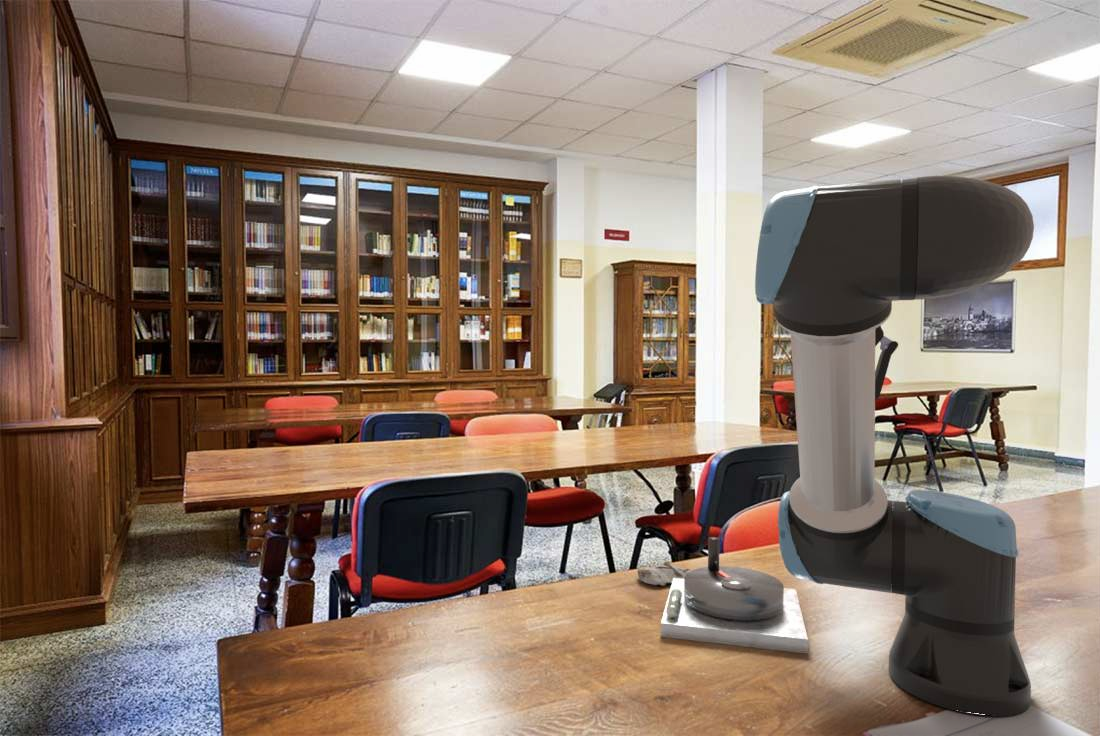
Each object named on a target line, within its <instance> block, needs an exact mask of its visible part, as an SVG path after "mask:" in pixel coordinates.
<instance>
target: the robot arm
mask: <svg viewBox="0 0 1100 736" xmlns="http://www.w3.org/2000/svg"><path fill="white" fill-rule="evenodd" d="M1033 217H1034V216H1033V214H1032V212H1031V209H1030V207H1029V205H1028V204H1027V202H1026V200H1024V199H1023V197H1022V196H1020V195H1019V194H1018V193H1016V192H1015V191H1013V190H1012V189H1010V188H1008V187H1006V186H1003V185H1001V184H999V183H995V182H991V181H988V180H982V179H977V178H976V179H975V178H971V177H964V176H954V175H930V176H929V175H928V176H917V177H913V178H900V179H899V178H898V179H890V180H889V179H887V180H880V181H878V180H877V181H869V182H856V183H845V184H836V185H835V184H834V185H825V186H824V185H823V186H819V185H818V184H817V185H816V184H815V185H812V186H811V187H807V188H799V189H793V190H788V191H787V190H786V191H781V192H779V193H777V194H775V195H774V196H773V197H772V198H770V200H769V201H768V203H767V205H766V206H765V211H764V213H763V217H762V222H761V227H760V232H759V236H758V237H759V238H758V245H757V254H756V263H755V278H754V279H755V280H754V287H755V289H754V291H755V297H756V298H755V299H756V301H757V302H758V303H759V304H760V305H761V304H762V305H765V306H766V307H768V306H771V305H773V313H774V314H773V315H774V319H775V321H776V324H777V325H778V326H779V327H781V328H782V329H783V330H784V331H786V332H788V333H789V334H790V345H791V361H792V362H791V363H792V377H793V392H794V406H795V421H796V433H797V434H796V435H797V437H796V438H797V449H798V450H797V451H798V464H799V465H798V466H799V475H800V476H799V477H798V478H797V479H796V480H795V481H794V482H793V484H792V486H790V487H791V488H790V489H789V491H786V492H784V493H783V494H782V495H781V498H780V501H779V505H778V511H777V513H778V514H777V515H778V516H777V527H778V535H779V537H778V544H779V549H780V554H781V558H782V561H783V564H784V566H785V568H786V570H787V571H788V572H789V574H790V575H792V576H793V577H795V578H797V579H801V580H804V581H809V582H812V583H813V582H814V583H816V584H818V585H832V586H837V587H838V586H839V587H844V588H845V587H846V588H853V589H860V590H868V591H875V592H880V593H881V592H882V593H888V594H895V595H900V596H901V595H902V596H904V597H905V601H904V605H905V606H904V615H903V618H902V620H901V622H900V625H899V628H898V630H897V633H896V635H895V638H894V640H893V642H892V644H891V647H890V650H889V654H888V673H889V676H890V678H891V680H892V681H893V682H894V683H895V684H896V685H897V686H898V687H900V688H901V689H903V690H904V691H906V692H907V693H909V694H910V695H911V696H914V697H916V698H918V699H920V700H922V701H924V702H927V703H929V704H932V705H934V706H937V707H941V708H944V709H948V710H951V711H954V710H958V711H962V712H961V713H963V712H971V713H979V714H985V715H995V716H994V717H1008V716H1014V715H1015V716H1016V715H1019V714H1021V713H1024V712H1025V711H1026V710H1028V709H1029V707H1030V706H1031V701H1032V696H1031V695H1032V689H1031V688H1032V685H1031V680H1030V677H1029V673H1028V671H1027V668H1026V665H1025V662H1024V658H1023V656H1022V652H1021V650H1020V648H1019V645H1018V642H1017V641H1018V640H1017V639H1016V635H1015V634H1016V633H1015V615H1016V614H1015V613H1016V611H1015V609H1016V576H1017V575H1016V571H1017V570H1016V567H1017V564H1016V563H1017V557H1019V550H1018V549H1017V548H1018V547H1017V531H1016V530H1017V529H1016V524H1015V521H1014V520H1013V518H1012V517H1011V516H1010V515H1009V514H1008V513H1007V512H1006V511H1004V510H1003V509H1001V508H1000V507H997V506H995V505H993V504H990V503H987V502H984V501H981V500H979V499H975V498H971V497H966V496H963V495H958V494H953V493H949V492H943V491H936V490H923V489H922V490H921V489H913V490H911V491H909V492H908V493H907V495H906V497H905V501H899V500H898V501H897V500H891V499H888V495H887V493H886V491H885V489H884V487H883V486H882V485H881V483H879V481H877V480H876V479H875V476H876V475H875V473H876V471H875V469H876V468H875V467H876V466H875V463H876V461H875V460H876V458H875V454H876V453H875V452H876V447H875V445H876V440H875V439H876V435H875V434H876V433H875V432H876V430H875V429H876V427H875V426H876V400H878V399H879V398H880V396H881V393H882V389H883V385H884V383H885V382H884V381H885V379H886V374H887V372H888V369H889V366H890V365H889V364H890V360H891V357H892V355H893V353H894V352H895V351H896V350H897V348H898V347H899V342H898V341H895V340H892V339H890V338H889V337H887V336H885V332H884V330H883V328H882V325H883V324H885V322H886V321H888V319H889V317H891V314H892V308H893V307H892V306H893V304H892V303H893V302H896V301H917V300H918V301H919V300H921V301H922V300H931V299H933V300H934V299H937V298H938V299H939V298H945V297H950V296H955V295H959V294H962V293H965V292H968V291H971V290H974V289H976V288H980V287H982V286H986V285H987V284H989V283H991V282H993V281H996V280H997V279H999V278H1001V277H1003V276H1004V275H1006V274H1008V272H1010V271H1011V270H1012V269H1014V268H1015V266H1017V265H1018V264H1019V263H1020V262H1021V261H1022V260H1023V258H1024V257H1025V256H1026V254H1027V252H1028V251H1029V249H1030V246H1031V244H1032V241H1033V237H1034V231H1035V226H1034V225H1035V224H1034V218H1033ZM879 343H880V345H879V348H880V350H881V352H880V354H879V357H878V360H877V364H876V348H877V347H876V346H877V345H878V344H879ZM958 711H957V712H958Z"/></svg>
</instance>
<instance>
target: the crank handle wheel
mask: <svg viewBox="0 0 1100 736" xmlns="http://www.w3.org/2000/svg"><path fill="white" fill-rule="evenodd" d="M707 541H708V543H707V544H708V546H707V566H704V567H700V568H699V567H698V568H695V569H692V570H690V572H688V573H687V574H686V575H685V577H684V599H685V601H686V603H687V604H688V605H689V606H691V607H692V608H694V609H696V610H698V611H700V612H703V613H705V614H708V615H712V616H716V617H720V618H726V619H734V620H759V619H766V618H770V617H773V616H776V615H778V614H779V613H781V612H782V610H783V605H784V588H785V586H784V584H783V583H782V581H780V580H779V578H776V577H775V576H772V575H771V574H768V573H765V572H762V571H759V570H755V569H752V568H751V569H750V568H746V567H738V566H730V565H729V566H727V565H726V566H723V565H720V538H719V537H715V536H709V537H708V539H707Z"/></svg>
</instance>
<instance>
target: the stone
mask: <svg viewBox="0 0 1100 736" xmlns="http://www.w3.org/2000/svg"><path fill="white" fill-rule="evenodd" d="M655 566H656V567H655ZM650 567H651V568H649V567H646V566H645V567H640V568H639V569H637V575H638V580H639V582H642V583H645V584H649V585H653V586H655V587H657V586H658V585H660V586H662V587H665V586H666V585H667V584H672V581H673V578H681V579H684V577H685V575H686V574H687V573H688V572H690V571H691V569H690V568H684V566H678V565H674V564H669V563H668V562H667V561H664V562H663V563H660V564H657V565H653V566H650ZM643 568H645V569H643Z"/></svg>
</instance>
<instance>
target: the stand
mask: <svg viewBox="0 0 1100 736" xmlns="http://www.w3.org/2000/svg"><path fill="white" fill-rule="evenodd" d="M666 599H667V600H666V602H665V607H664V610H663V614H662V618H661V622H660V637H661V638H668V639H675V640H676V639H678V640H684V641H685V640H686V641H693V642H703V643H710V644H719V645H727V646H729V645H730V646H736V647H746V648H752V649H753V648H755V649H763V650H770V651H778V652H779V651H780V652H787V653H795V654H796V653H797V654H804V655H805V654H806V655H808V654H809V653H808V651H809V638H808V633H807V629H806V626H805V622H804V618H803V614H802V609H801V606H800V601H799V597H798V592H797V589H796V588H790V587H789V588H787V587H784V605H783V610H782V612H781V613H779V614H778V615H776V616H773V617H770V618H766V619H759V620H734V619H726V618H720V617H716V616H712V615H708V614H705V613H703V612H700V611H698V610H696V609H694V608H692V607H691V606H689V605H688V604H687V603H686V601H685V599H684V579H681V578H673V581H672V583H671V585H670V588H669V593H668V596H667V598H666Z"/></svg>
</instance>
